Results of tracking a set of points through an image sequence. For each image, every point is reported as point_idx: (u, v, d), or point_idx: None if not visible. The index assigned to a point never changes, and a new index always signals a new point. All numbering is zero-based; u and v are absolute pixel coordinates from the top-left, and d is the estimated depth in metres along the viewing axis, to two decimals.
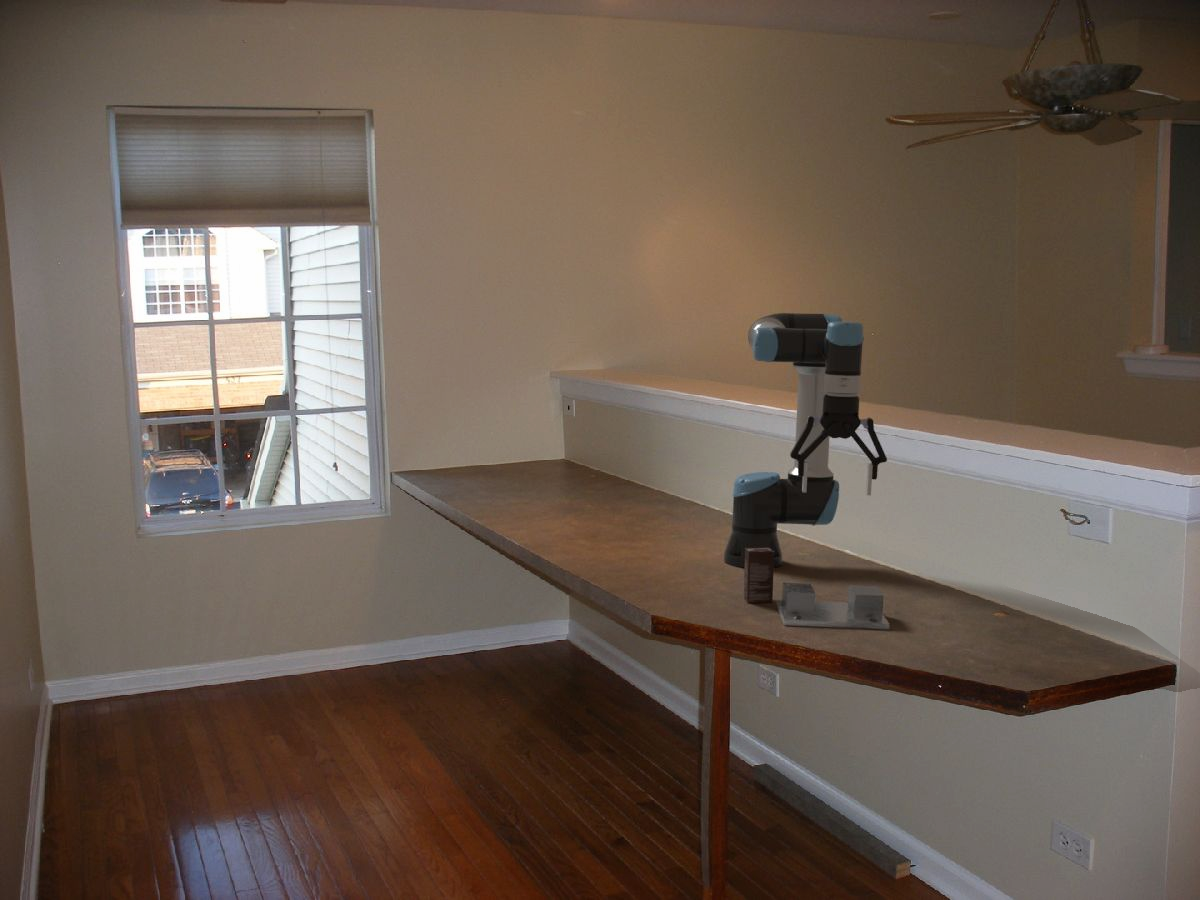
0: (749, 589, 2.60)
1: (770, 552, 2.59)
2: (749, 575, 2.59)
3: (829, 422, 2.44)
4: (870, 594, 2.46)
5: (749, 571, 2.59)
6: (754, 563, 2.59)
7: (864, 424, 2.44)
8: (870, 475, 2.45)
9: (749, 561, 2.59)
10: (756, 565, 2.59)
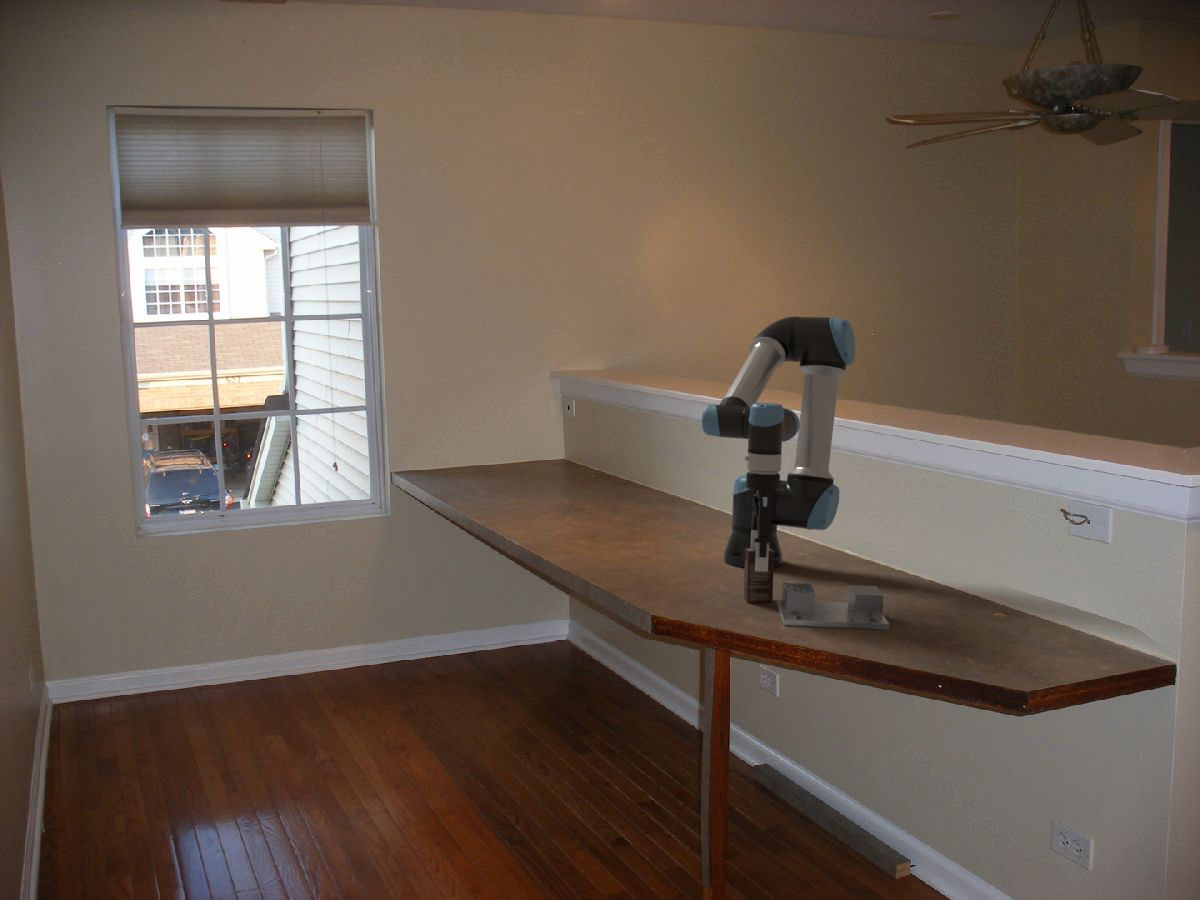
0: (749, 589, 2.60)
1: (770, 552, 2.59)
2: (749, 575, 2.59)
3: (756, 496, 2.61)
4: (870, 594, 2.46)
5: (749, 571, 2.59)
6: (754, 563, 2.59)
7: None
8: (756, 551, 2.54)
9: (749, 561, 2.59)
10: None
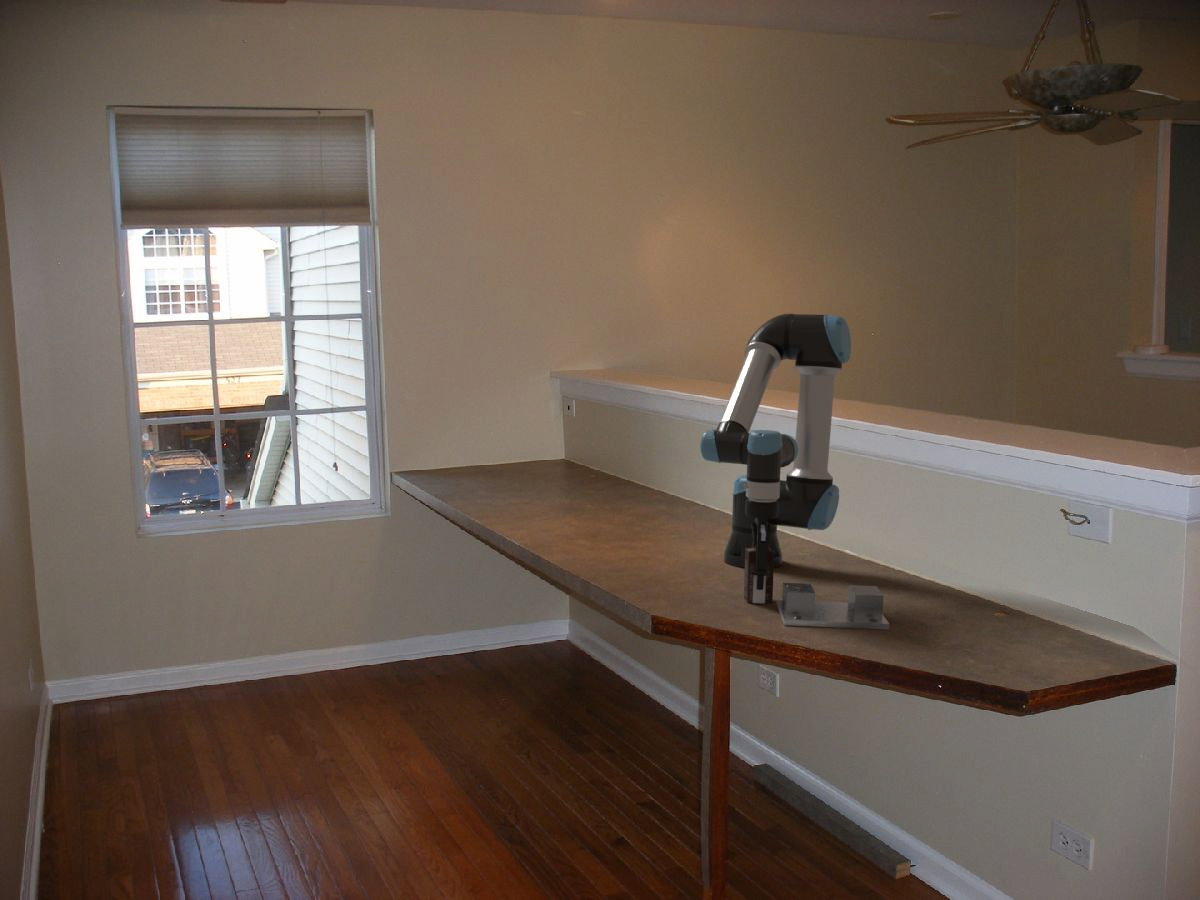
0: (749, 589, 2.60)
1: (770, 552, 2.59)
2: (749, 575, 2.59)
3: (755, 521, 2.62)
4: (870, 594, 2.46)
5: (749, 571, 2.59)
6: (754, 563, 2.59)
7: None
8: (753, 584, 2.59)
9: (749, 561, 2.59)
10: None
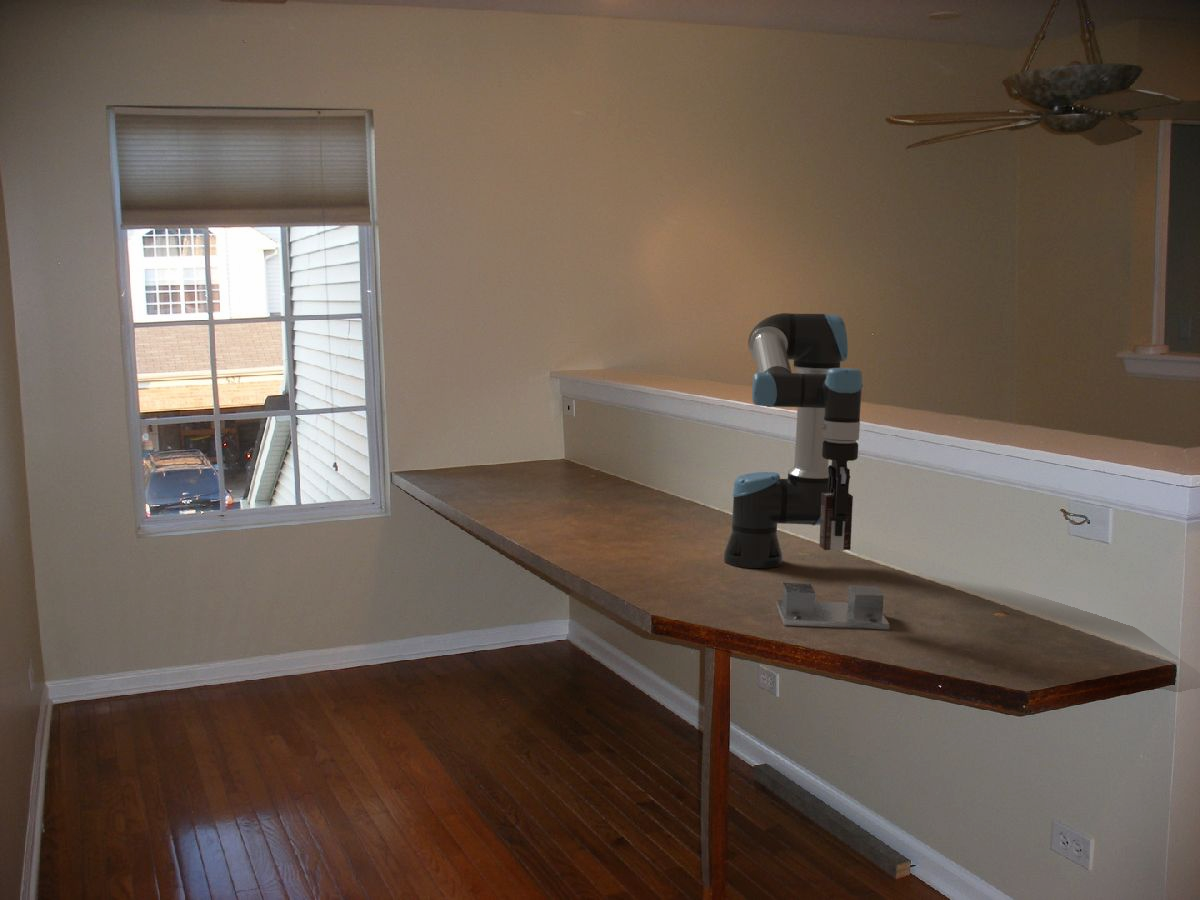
0: (826, 536, 2.46)
1: (849, 497, 2.45)
2: (826, 521, 2.46)
3: (832, 464, 2.48)
4: (870, 594, 2.46)
5: (826, 517, 2.45)
6: (832, 508, 2.45)
7: None
8: (831, 530, 2.45)
9: (826, 506, 2.45)
10: None
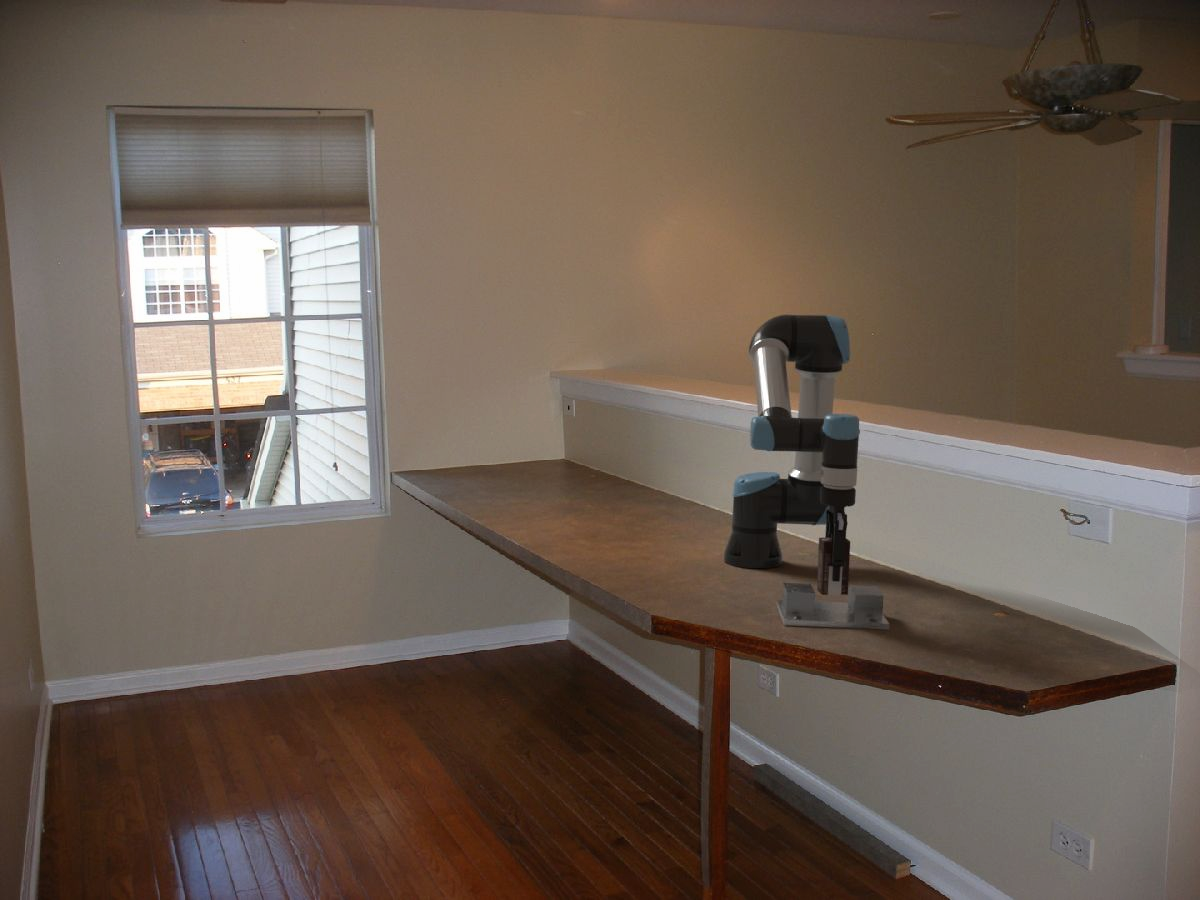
0: (824, 581, 2.47)
1: (846, 542, 2.47)
2: (824, 566, 2.47)
3: (830, 509, 2.50)
4: (870, 594, 2.46)
5: (824, 562, 2.47)
6: (829, 553, 2.47)
7: None
8: (829, 575, 2.47)
9: (824, 551, 2.46)
10: None
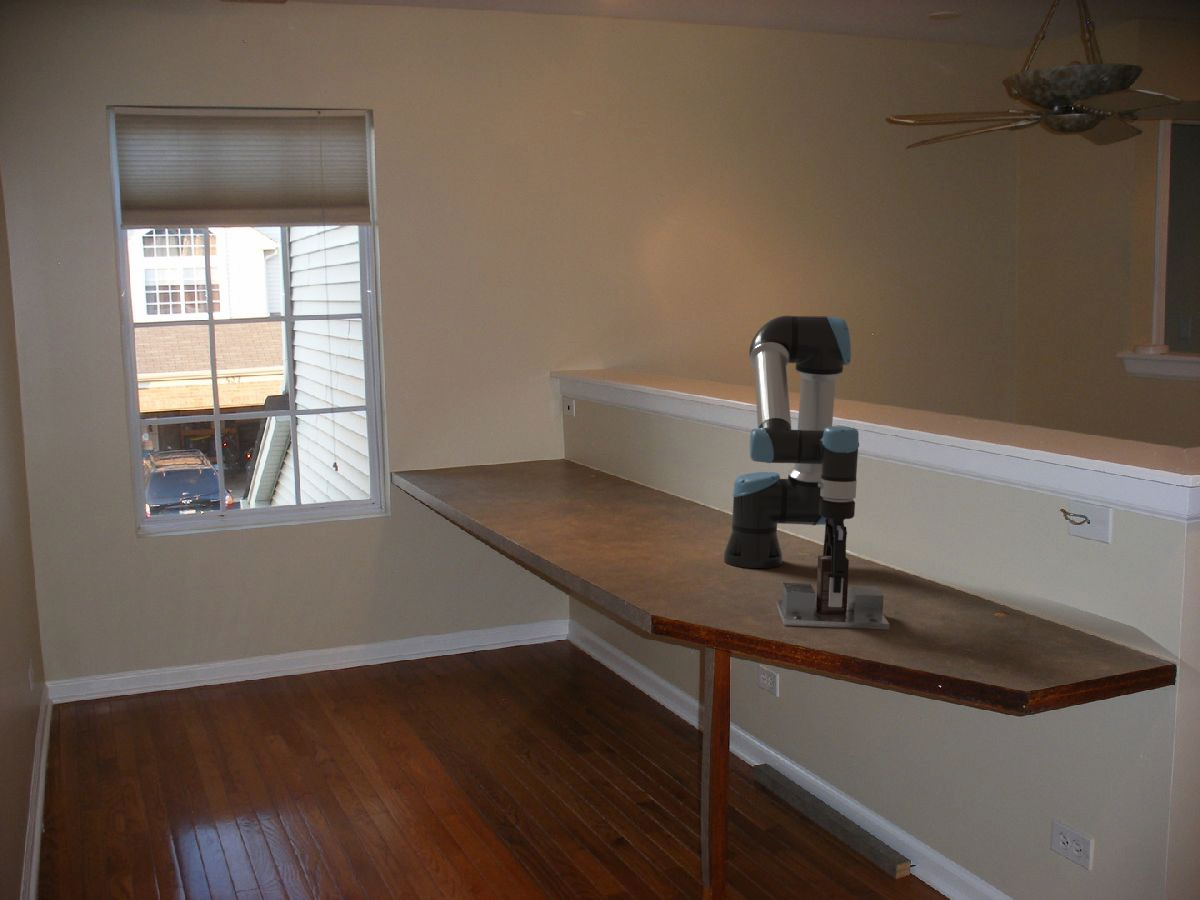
0: (822, 599, 2.48)
1: None
2: (822, 584, 2.48)
3: (829, 522, 2.50)
4: (870, 594, 2.46)
5: (822, 580, 2.48)
6: (828, 571, 2.47)
7: None
8: None
9: (822, 570, 2.47)
10: (830, 573, 2.48)
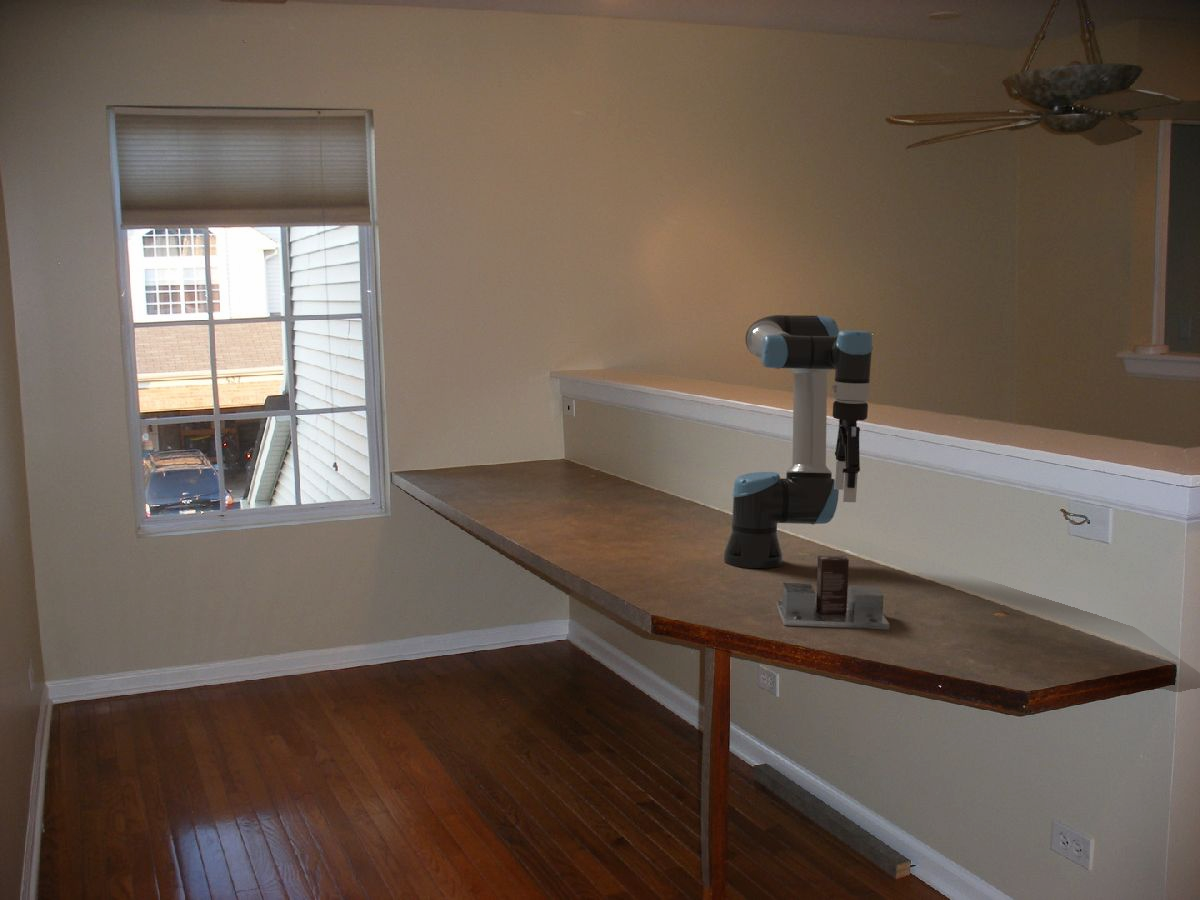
0: (822, 599, 2.48)
1: (844, 560, 2.47)
2: (822, 584, 2.48)
3: (842, 426, 2.56)
4: (870, 594, 2.46)
5: (822, 580, 2.48)
6: (828, 571, 2.48)
7: None
8: (844, 482, 2.49)
9: (822, 570, 2.47)
10: (830, 573, 2.48)
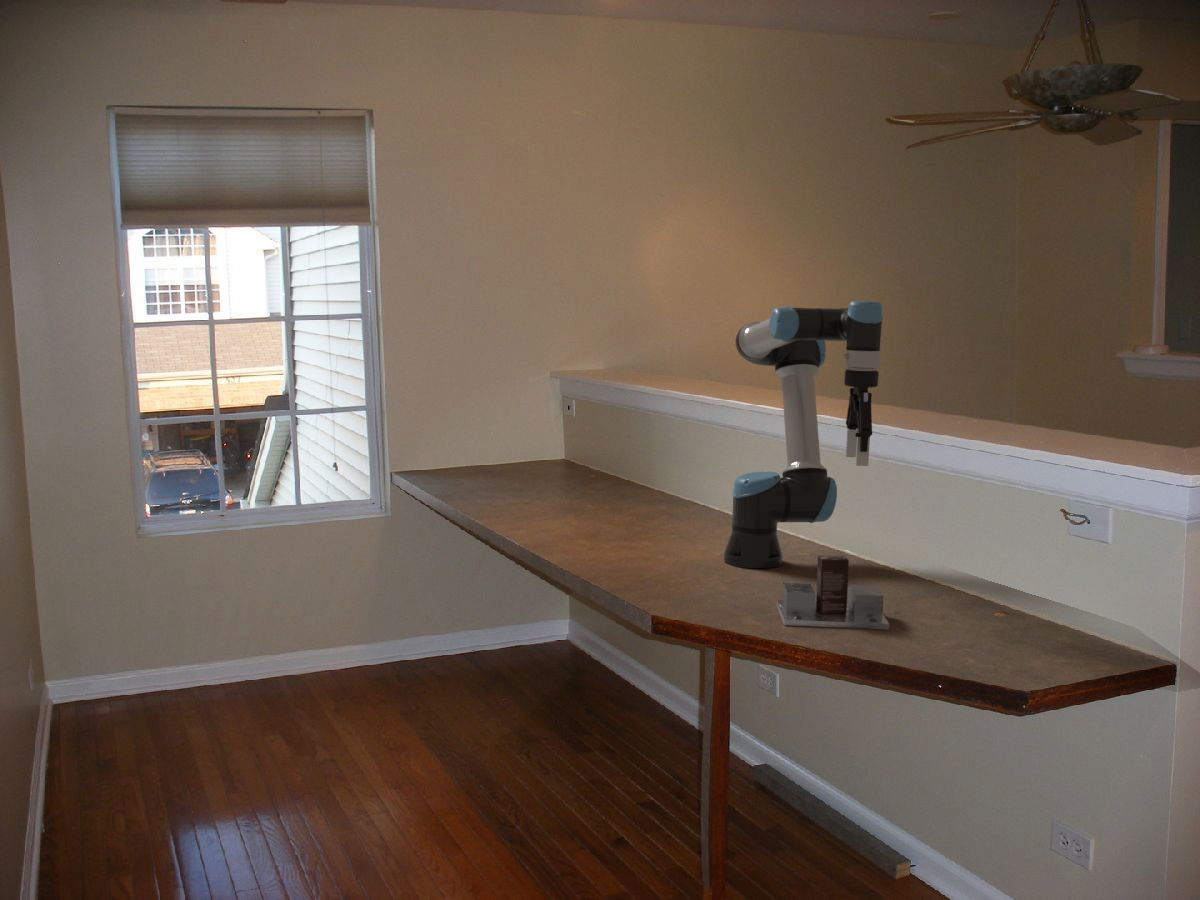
0: (822, 599, 2.48)
1: (844, 560, 2.47)
2: (822, 584, 2.48)
3: (853, 394, 2.65)
4: (870, 594, 2.46)
5: (822, 580, 2.48)
6: (828, 571, 2.48)
7: None
8: (856, 446, 2.58)
9: (822, 570, 2.47)
10: (830, 573, 2.48)
